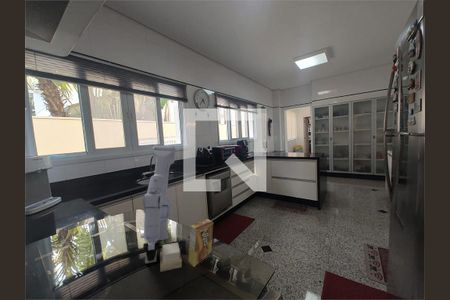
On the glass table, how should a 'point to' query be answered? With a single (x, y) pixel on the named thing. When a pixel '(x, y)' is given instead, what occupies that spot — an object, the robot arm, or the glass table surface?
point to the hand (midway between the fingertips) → (151, 255)
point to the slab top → (170, 252)
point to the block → (150, 261)
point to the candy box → (200, 241)
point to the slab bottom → (169, 263)
